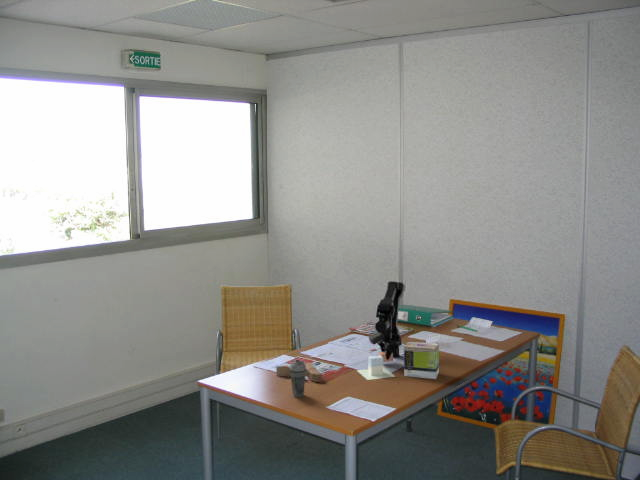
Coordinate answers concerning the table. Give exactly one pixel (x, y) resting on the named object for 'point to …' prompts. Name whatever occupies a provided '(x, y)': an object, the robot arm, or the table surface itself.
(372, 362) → the brick blue
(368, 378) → the baseplate
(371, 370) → the brick cream
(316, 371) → the wooden block set
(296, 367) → the beverage cup
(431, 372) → the tea box
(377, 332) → the robot arm
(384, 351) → the brick rust
